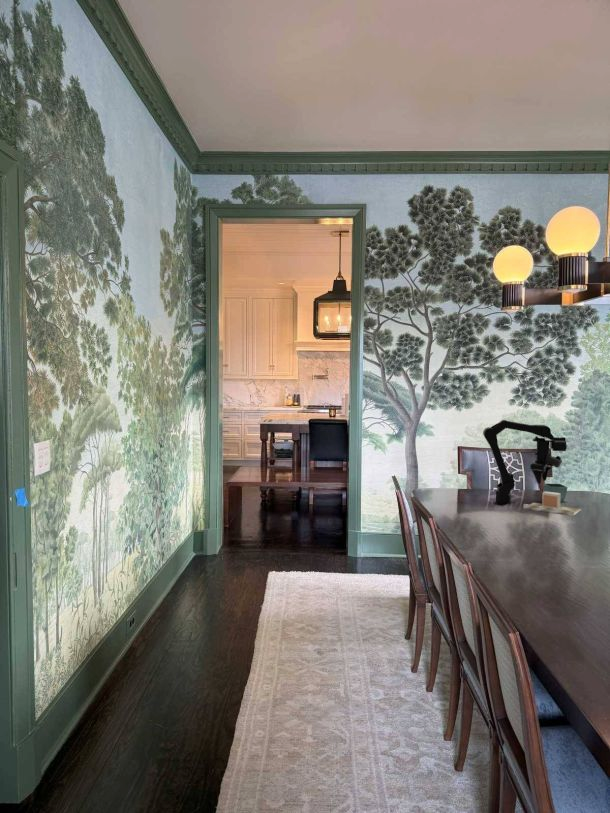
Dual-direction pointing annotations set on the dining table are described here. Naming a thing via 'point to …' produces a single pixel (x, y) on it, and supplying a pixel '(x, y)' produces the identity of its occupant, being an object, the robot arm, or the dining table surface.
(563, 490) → the flower pot
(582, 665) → the dining table surface
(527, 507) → the shelf board
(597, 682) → the dining table surface
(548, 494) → the carton
